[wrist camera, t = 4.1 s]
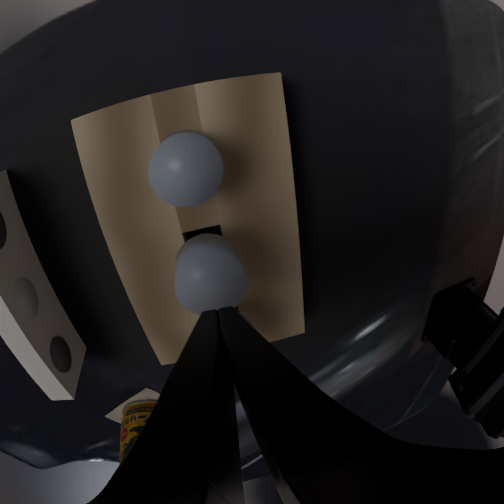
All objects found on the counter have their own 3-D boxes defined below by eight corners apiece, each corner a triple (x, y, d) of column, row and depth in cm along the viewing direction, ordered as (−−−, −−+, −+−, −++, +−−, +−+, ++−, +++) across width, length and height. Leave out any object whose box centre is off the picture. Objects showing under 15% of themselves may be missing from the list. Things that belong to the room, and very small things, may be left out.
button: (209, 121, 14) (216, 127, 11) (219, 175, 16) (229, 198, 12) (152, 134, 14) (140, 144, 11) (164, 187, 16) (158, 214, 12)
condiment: (146, 385, 23) (148, 519, 12) (215, 419, 27) (236, 527, 16) (104, 414, 24) (98, 523, 13) (169, 442, 28) (179, 538, 18)
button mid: (227, 211, 15) (241, 247, 12) (237, 261, 17) (252, 307, 13) (169, 223, 15) (165, 264, 11) (184, 273, 16) (185, 322, 13)
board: (269, 75, 14) (280, 72, 12) (295, 314, 22) (304, 332, 20) (84, 117, 13) (70, 120, 11) (162, 344, 21) (161, 365, 19)
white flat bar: (7, 168, 13) (-41, 195, 8) (88, 347, 20) (75, 399, 15) (-15, 180, 13) (-62, 209, 8) (66, 350, 19) (51, 400, 15)
